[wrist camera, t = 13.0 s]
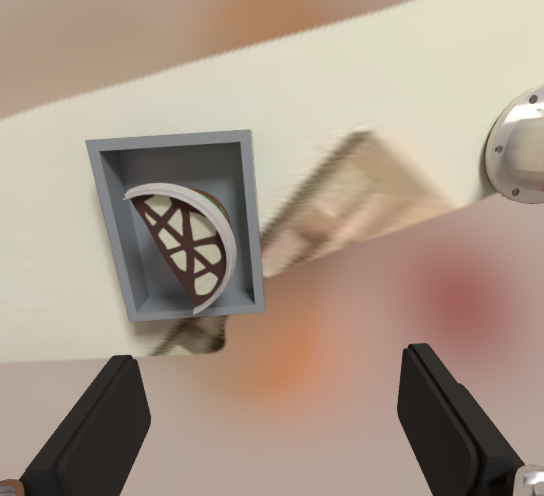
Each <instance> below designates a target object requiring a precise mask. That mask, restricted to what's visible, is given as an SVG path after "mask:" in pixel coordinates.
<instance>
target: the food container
mask: <svg viewBox="0 0 544 496" xmlns="http://www.w3.org/2000/svg"><path fill="white" fill-rule="evenodd" d="M125 197H126V198H124V199H123V200H128V199H130V200H131V202H132V203H133V205H134V207H135V209H136V210H137V211H138V213H139V214H140V216H141V217H142V219H143V221H144V222H145V224H146V226H147V228H148V229H149V231H150V233H151V235H152V237H153V238H154V240H155V242H156V244H157V246H158V248H159V250H160V252H161V254H162V256H163V257H164V259H165V261H166V262H167V264H168V265H169V266H170V268H171V269H172V271H173V272H174V273H175V275H176V276H177V278H178V279H179V281H180V283H181V284H182V286H183V287H184V289H185V291H186V292H187V294H188V296H189V297H190V299H191V301H192V302H193V304H194V306H195V308H194V312H193V315H194V314H196V313H198V312H200V311H202V310H204V309H205V308H207V307H208V306H210V305H211V304H212V303H213V302H214V301H215V300H216V299H217V298H218V297H219V296H220V295H221V294H222V292H223V291H224V290H225V288H226V287H227V285H228V284H229V282H230V280H231V278H232V276H233V273H234V269H235V266H236V256H237V254H236V243H235V239H234V235H233V233H232V230H231V225H230V220H229V216H228V214H227V211H226V210H225V208H224V207H223V205H222V204H221V203H220V202H219V201H218V200H217V199H216V198H215V197H214V196H212V195H210V194H209V193H207V192H205V191H202V190H199V189H195V188H186V187H182V186H178V185H175V184H167V183H150V184H145V185H140V186H137V187H134V188H132V189H129V190H128V192H127V193H126V194H125Z"/></svg>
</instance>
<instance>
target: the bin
mask: <svg viewBox="0 0 544 496" xmlns="http://www.w3.org/2000/svg"><path fill="white" fill-rule="evenodd" d="M85 142H86V146H87V150H88V154H89V158H90V162H91V166H92V170H93V174H94V178H95V183H96V187H97V191H98V195H99V199H100V203H101V207H102V211H103V215H104V219H105V224H106V228H107V232H108V236H109V240H110V244H111V248H112V252H113V256H114V260H115V265H116V269H117V273H118V277H119V281H120V285H121V289H122V293H123V297H124V301H125V305H126V310H127V314H128V318H129V322H138V321H151V320H165V319H178V318H192V317H205V316H219V315H232V314H245V313H259V312H265V301H264V300H265V298H264V281H263V268H262V256H261V243H260V231H259V218H258V205H257V193H256V180H255V167H254V155H253V142H252V131H251V130H234V131H219V132H204V133H189V134H174V135H159V136H144V137H128V138H113V139H98V140H85ZM150 183H167V184H175V185H178V186H182V187H186V188H195V189H199V190H202V191H205V192H207V193H209V194H210V195H212V196H214V197H215V198H216V199H217V200H218V201H219V202H220V203H221V204H222V205H223V207H224V208H225V210H226V211H227V214H228V216H229V220H230V225H231V230H232V233H233V235H234V239H235V243H236V254H237V256H236V266H235V269H234V273H233V276H232V278H231V280H230V282H229V284H228V285H227V287H226V288H225V290H224V291H223V292H222V294H221V295H220V296H219V297H218V298H217V299H216V300H215V301H214V302H213V303H212V304H211V305H210V306H208V307H207V308H205V309H204V310H202V311H200V312H198V313H196V314H194V315H193V312H194V308H195V306H194V304H193V302H192V301H191V299H190V297H189V296H188V294H187V292H186V291H185V289H184V287H183V286H182V284H181V283H180V281H179V279H178V278H177V276H176V275H175V273H174V272H173V271H172V269H171V268H170V266H169V265H168V264H167V262H166V261H165V259H164V257H163V256H162V254H161V252H160V250H159V248H158V246H157V244H156V242H155V240H154V238H153V237H152V235H151V233H150V231H149V229H148V228H147V226H146V224H145V222H144V221H143V219H142V217H141V216H140V214H139V213H138V211H137V210H136V209H135V207H134V205H133V203H132V202H131V200H130V199H128V200H123V199H124V198H126V197H125V194H126V193H127V192H128V190H129V189H132V188H134V187H137V186H140V185H145V184H150Z"/></svg>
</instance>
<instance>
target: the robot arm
mask: <svg viewBox="0 0 544 496" xmlns="http://www.w3.org/2000/svg"><path fill="white" fill-rule="evenodd" d="M485 165H486V170H487V175H488V177H489V180H490V182H491V184H492V185H493V186H494V188H495V189H496V190H497V191H498V192H499V193H500V194H501V195H503V196H504V197H506V198H508V199H510V200H513V201H517V202H520V203H528V204H537V203H544V85H542V86H538V87H536V88H534V89H532V90H530V91H528V92H526V93H524V94H523V95H522V96H520V97H519V98H517V99H516V100H515V101H514V102H513V103H512V104H511V105H510V106H508V107H507V108H506V110H505V111H504V112H503V113H502V115H501V116H500V117H499V119H498V120H497V122H496V124H495V126H494V127H493V129H492V131H491V134H490V137H489V139H488V143H487V148H486V153H485ZM397 413H398V417H399V420H400V422H401V425H402V427H403V429H404V431H405V434H406V436H407V438H408V440H409V443H410V445H411V447H412V449H413V452H414V454H415V456H416V458H417V461H418V463H419V465H420V467H421V470H422V472H423V474H424V476H425V479H426V481H427V483H428V485H429V488H430V490H431V492H432V494H433V496H544V466H539V465H533V464H532V465H525V464H524V462H523V461H522V460H521V459H520V457H519V456H518V455H517V453H516V452H515V451H514V450H513V448H512V447H511V446H510V444H509V443H508V442H507V441H506V439H505V438H504V437H503V435H502V434H501V433H500V432H499V430H498V429H497V428H496V426H495V425H494V424H493V422H492V421H491V420H490V418H489V417H488V416H487V415H486V413H485V412H484V411H483V409H482V408H481V407H480V406H479V404H478V403H477V402H476V400H475V399H474V398H473V396H472V395H471V394H470V393H469V391H468V390H467V389H466V388H465V387H464V386H463V385H462V384H460V383H457V381H456V380H455V379H454V378H453V376H452V375H451V374H450V373H449V371H448V370H447V368H446V367H445V366H444V364H443V363H442V362H441V360H440V359H439V358H438V356H437V355H436V354H435V352H434V351H433V350H432V348H431V347H430V346H429V345H428V344H426V343H421V344H409V346H408V348H406V349H404V350H403V355H402V365H401V376H400V385H399V395H398V404H397ZM150 423H151V415H150V411H149V407H148V403H147V399H146V394H145V390H144V386H143V382H142V378H141V374H140V370H139V366H138V362H137V360H136V359H133V357H132V356H131V355H115V356H112V357H111V358H110V360H109V361H108V362H107V364H106V365H105V366H104V368H103V369H102V370H101V372H100V373H99V374H98V375H97V377H96V378H95V379H94V381H93V382H92V383H91V385H90V386H89V387H88V389H87V390H86V391H85V392H84V394H83V395H82V396H81V398H80V399H79V400H78V402H77V403H76V404H75V406H74V407H73V408H72V410H71V411H70V412H69V413H68V415H67V416H66V417H65V419H64V420H63V421H62V423H61V424H60V425H59V427H58V428H57V429H56V431H55V432H54V433H53V434H52V436H51V437H50V438H49V440H48V441H47V443H46V444H45V445H44V446H43V448H42V449H41V450H40V452H39V453H38V454H37V455H36V457H35V458H34V460H33V461H32V462H31V463H30V465H29V466H28V467H27V469H26V470H25V472H24V474H23V475H22V476H21V478H20V479H19V480H16V479H7V480H3V481H0V496H119V495H120V493H121V491H122V489H123V486H124V484H125V482H126V480H127V477H128V475H129V473H130V471H131V468H132V466H133V464H134V462H135V459H136V457H137V455H138V453H139V450H140V448H141V445H142V443H143V441H144V439H145V437H146V434H147V432H148V430H149V427H150Z"/></svg>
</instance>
